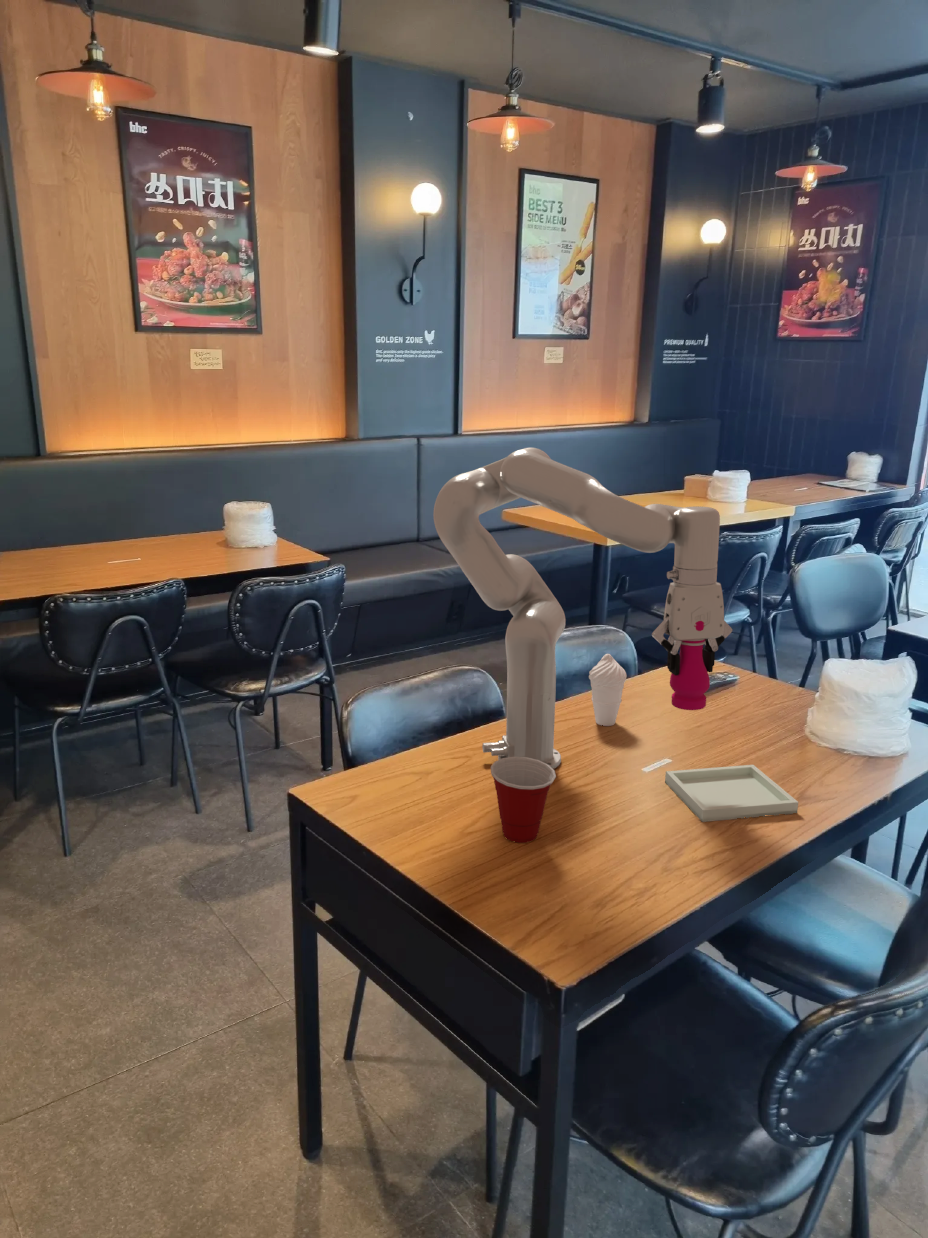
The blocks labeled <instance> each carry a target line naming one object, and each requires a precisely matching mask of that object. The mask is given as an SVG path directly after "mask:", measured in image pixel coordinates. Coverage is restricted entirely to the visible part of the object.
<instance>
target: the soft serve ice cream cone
mask: <svg viewBox="0 0 928 1238" xmlns="http://www.w3.org/2000/svg"><path fill="white" fill-rule="evenodd" d="M588 679H589V680H590V686H591V687H590V688H591V701H592V707H593V712H594V721H595V723H596V724H597V725H599V726H602V725H603V726H604V727H610V726H614V725H615V724H616V720H617V716H618V713H619V709H620V705H621V703H622V697H623V696H622V695H623V690H624V687H625V683H626V680H627V672H626V670H625V669H624V668H623V667H622V666H621V665H620V663H618V662H617V661H616V660H615V658H614V657H613V656H612V655H611V654H610V653H605V654H604V655H603V656H602V657H601V659H600V660H599V661H598V662H597V664H596V665H594V666H593V667H592V669H591V670H590V671H589V675H588Z"/></svg>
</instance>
